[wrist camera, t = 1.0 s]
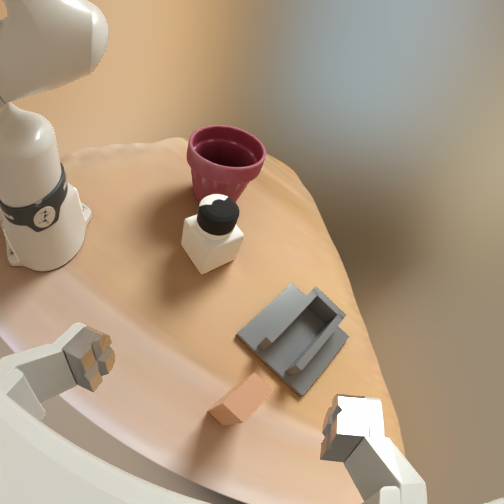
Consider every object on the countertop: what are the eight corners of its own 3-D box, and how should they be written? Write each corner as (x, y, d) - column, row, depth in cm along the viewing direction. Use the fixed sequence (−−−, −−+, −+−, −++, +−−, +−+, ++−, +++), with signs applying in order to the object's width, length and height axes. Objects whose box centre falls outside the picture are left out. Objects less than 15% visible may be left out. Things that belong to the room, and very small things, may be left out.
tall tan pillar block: (207, 410, 37) (222, 403, 28) (231, 388, 40) (254, 372, 30) (222, 425, 36) (243, 422, 27) (246, 402, 39) (274, 390, 30)
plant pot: (216, 163, 67) (228, 117, 56) (261, 199, 63) (281, 153, 53) (167, 188, 58) (172, 136, 48) (214, 231, 55) (228, 180, 45)
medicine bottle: (235, 259, 53) (253, 215, 43) (201, 276, 49) (212, 231, 40) (213, 230, 55) (226, 183, 46) (180, 244, 52) (186, 196, 42)
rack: (235, 335, 45) (243, 323, 41) (289, 285, 53) (301, 270, 49) (300, 396, 41) (314, 391, 38) (346, 338, 49) (361, 328, 46)
